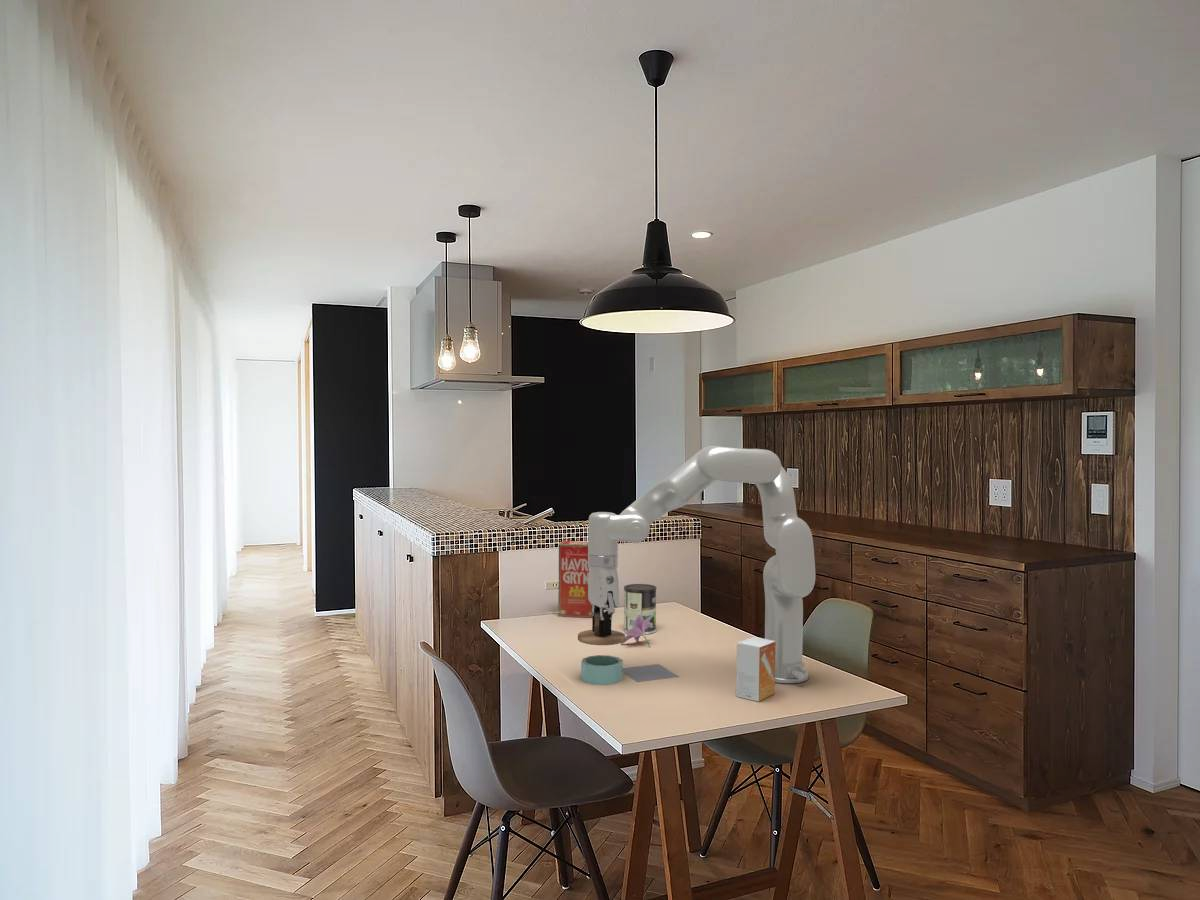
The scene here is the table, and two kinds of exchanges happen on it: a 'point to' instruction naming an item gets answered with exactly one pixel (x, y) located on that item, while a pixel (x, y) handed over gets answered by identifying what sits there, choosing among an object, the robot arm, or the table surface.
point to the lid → (595, 639)
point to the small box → (755, 668)
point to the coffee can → (639, 605)
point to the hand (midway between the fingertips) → (601, 632)
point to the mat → (648, 673)
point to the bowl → (602, 669)
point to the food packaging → (574, 580)
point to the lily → (638, 628)
